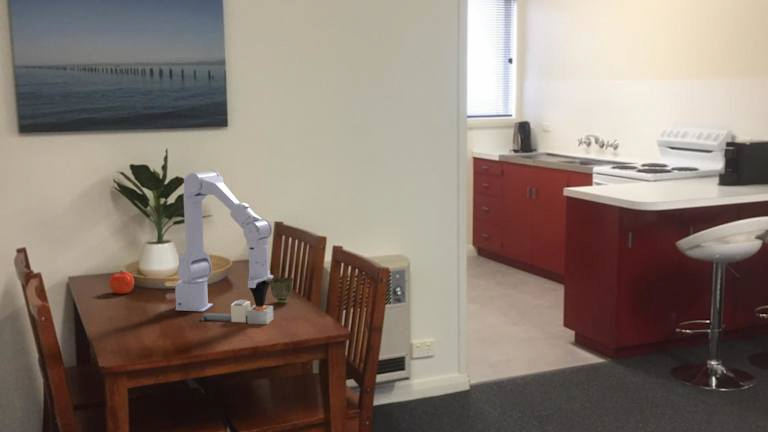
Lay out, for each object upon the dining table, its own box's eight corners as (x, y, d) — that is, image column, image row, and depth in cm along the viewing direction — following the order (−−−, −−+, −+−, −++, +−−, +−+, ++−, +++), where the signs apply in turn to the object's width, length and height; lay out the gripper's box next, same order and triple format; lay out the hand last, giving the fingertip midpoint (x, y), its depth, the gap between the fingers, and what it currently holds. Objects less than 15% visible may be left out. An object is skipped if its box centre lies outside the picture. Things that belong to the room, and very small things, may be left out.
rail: (201, 320, 239) (200, 315, 239) (206, 316, 244) (206, 311, 244) (247, 322, 237) (247, 317, 237) (252, 318, 241) (252, 313, 241)
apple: (139, 292, 275) (138, 269, 274) (120, 297, 268) (119, 273, 267) (124, 289, 279) (122, 266, 278) (105, 294, 272) (103, 271, 271)
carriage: (231, 321, 238) (230, 303, 237) (236, 317, 242) (236, 299, 241) (245, 322, 237) (244, 304, 236) (250, 318, 242) (250, 300, 241)
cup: (289, 306, 255) (288, 281, 253) (267, 305, 256) (266, 281, 255) (296, 300, 262) (295, 276, 261) (275, 299, 263) (274, 275, 262)
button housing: (247, 323, 236) (246, 310, 236) (253, 317, 242) (253, 305, 241) (267, 324, 235) (266, 311, 235) (273, 318, 241) (273, 305, 240)
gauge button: (253, 314, 237) (253, 307, 237) (257, 311, 240) (256, 304, 240) (263, 314, 237) (263, 307, 236) (266, 311, 239) (266, 304, 239)
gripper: (263, 266, 228) (265, 313, 230) (279, 256, 242) (280, 300, 244) (240, 266, 229) (241, 312, 231) (256, 255, 243) (258, 299, 245)
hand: (260, 306), depth 238 cm, fingers closed, pressing on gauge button
